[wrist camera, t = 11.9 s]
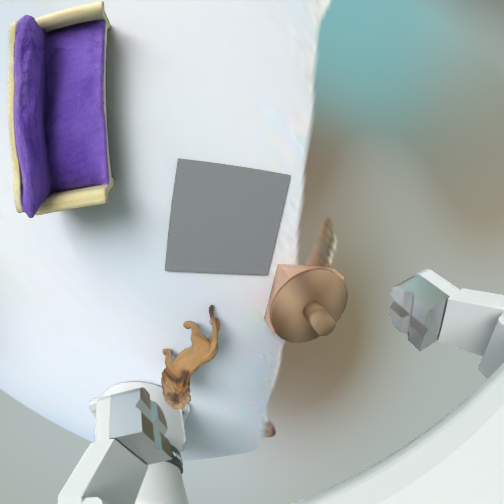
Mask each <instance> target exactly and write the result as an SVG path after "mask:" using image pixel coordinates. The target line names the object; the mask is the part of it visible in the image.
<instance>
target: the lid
mask: <svg viewBox="0 0 504 504" xmlns="http://www.w3.org/2000/svg"><path fill="white" fill-rule="evenodd" d="M347 294H348V293H347V288H346V285H345V283H344V281H343V280H342V279H341V278H340V277H339V276H338V275H337V274H336V273H334V272H333V271H331V270H328V269H324V268H314V269H309V270H306V271H303V272H301V273H298V274H297V275H295V276H293V277H292V278H291V279H289V280H288V281H287V282H286V283H285V284H284V285H283V286H282V287H281V288H280V289H279V290H278V292H277V293H276V295H275V297H274V298H273V301H272V303H271V307H270V312H269V318H270V322H271V325H272V327H273V329H274V330H275V332H276V333H277V335H278V336H279V337H281V338H282V339H284V340H286V341H290V342H305V341H309V340H312V339H315V338H317V337H319V336H325V335H328V334H329V333H331V332H332V331H333V329H334V328H335V325H336V322H337V321H338V320H339V318H340V317H341V315H342V313H343V311H344V309H345V306H346V303H347V297H348V295H347Z"/></svg>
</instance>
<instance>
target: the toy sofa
mask: <svg viewBox="0 0 504 504" xmlns="http://www.w3.org/2000/svg"><path fill="white" fill-rule="evenodd" d="M109 28H110V22H109V20H108V18H107V16H106V13H105V11H104V2H103V1H100V2H95V3H90V4H86V5H81V6H77V7H73V8H69V9H65V10H62V11H58V12H55V13H51V14H48V15H45V16H42V17H39V18H35V19H34V18H33V17H32V16H29V15H25V16H24V17H22V18H21V19H20V20H18V21H15V22H13V23H12V24H11V25H10V30H9V67H8V118H9V135H10V147H11V156H12V164H13V175H14V199H15V206H16V210H17V212H18V213H21V212H25V213H27V215H28V217H29V218H33V217H34V215H41V214H46V213H52V212H57V211H63V210H69V209H74V208H80V207H87V206H93V205H100V204H105V203H107V201H108V193H109V191H110V190H111V189H112V187H113V186H114V184H115V181H114V178H113V177H112V176H111V167H110V157H109V147H108V133H107V116H106V46H107V30H108V29H109Z"/></svg>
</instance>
